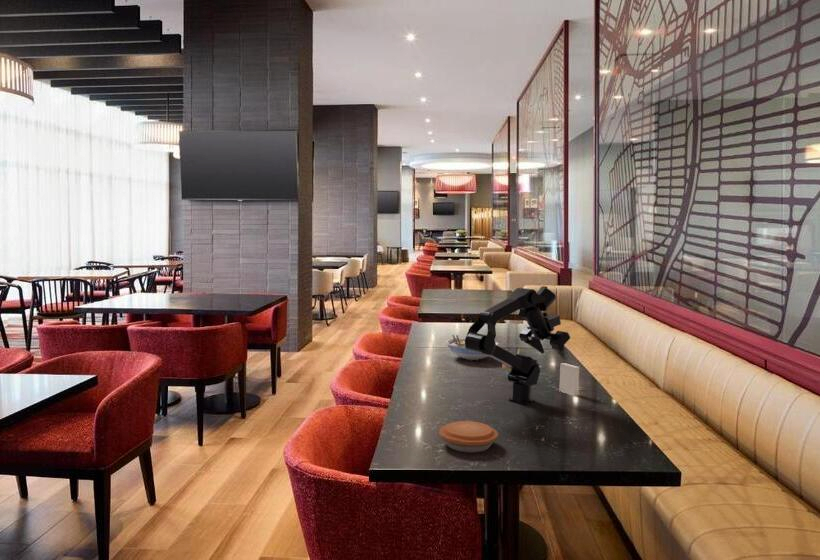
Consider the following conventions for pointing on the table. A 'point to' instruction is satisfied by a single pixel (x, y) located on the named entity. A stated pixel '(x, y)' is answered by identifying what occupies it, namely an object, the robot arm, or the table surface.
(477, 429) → the pie
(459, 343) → the ramen bowl
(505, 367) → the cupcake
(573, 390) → the tile
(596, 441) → the table surface
